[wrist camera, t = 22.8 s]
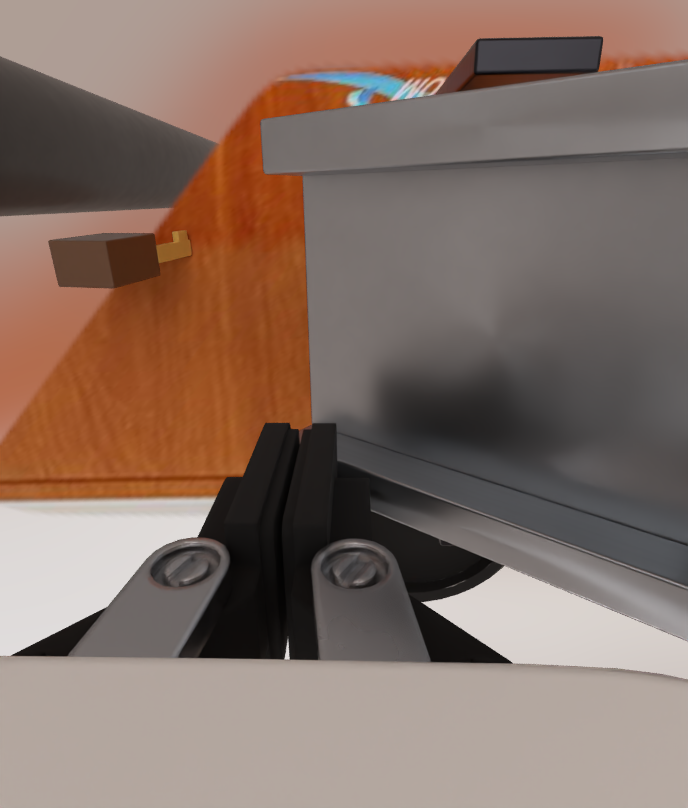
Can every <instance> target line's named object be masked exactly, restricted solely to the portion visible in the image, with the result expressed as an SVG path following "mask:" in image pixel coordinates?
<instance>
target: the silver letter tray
mask: <svg viewBox="0 0 688 808" xmlns="http://www.w3.org/2000/svg"><path fill="white" fill-rule="evenodd" d="M260 125H261V140H262V156H263V171H264V173H265V174H267V175H292V176H303V197H304V224H305V251H306V278H307V305H308V331H309V358H310V385H311V412H312V424H313V423H336V426H337V478H369V482H370V504H371V511H373V512H375V513H378V514H380V515H383V516H385V517H388V518H390V519H392V520H395V521H397V522H400V523H402V524H405V525H407V526H409V527H412V528H414V529H417V530H419V531H421V532H424V533H426V534H429V535H431V536H434V537H436V538H438V539H441V540H443V541H446V542H448V543H451V544H453V545H455V546H458V547H460V548H463V549H465V550H467V551H470V552H472V553H475V554H477V555H480V556H482V557H484V558H487V559H489V560H492V561H494V562H497V563H499V564H501V565H504V566H506V567H509V568H511V569H514V570H516V571H518V572H521V573H523V574H526V575H528V576H531V577H533V578H535V579H538V580H540V581H543V582H545V583H548V584H550V585H552V586H555V587H557V588H560V589H562V590H565V591H567V592H569V593H572V594H574V595H576V596H579V597H581V598H584V599H586V600H589V601H591V602H593V603H596V604H598V605H601V606H603V607H606V608H608V609H610V610H613V611H615V612H618V613H620V614H622V615H625V616H627V617H630V618H632V619H635V620H637V621H640V622H642V623H644V624H647V625H649V626H652V627H654V628H656V629H659V630H661V631H664V632H666V633H668V634H671V635H673V636H676V637H678V638H681V639H683V640H686V641H688V60H681V61H674V62H667V63H659V64H652V65H645V66H638V67H631V68H624V69H617V70H610V71H602V72H595V73H588V74H581V75H574V76H567V77H560V78H553V79H545V80H538V81H531V82H524V83H517V84H510V85H503V86H496V87H488V88H481V89H474V90H467V91H460V92H453V93H446V94H439V95H431V96H424V97H417V98H410V99H403V100H396V101H389V102H382V103H374V104H367V105H360V106H353V107H346V108H339V109H332V110H325V111H317V112H310V113H303V114H296V115H289V116H282V117H275V118H267V119H263V120H261V122H260ZM304 429H312V425H310V426H308V427H306V428H304ZM302 433H303V429H302V430H300V431H299V438H300V442H301V437H302Z"/></svg>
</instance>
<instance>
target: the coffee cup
mask: <svg viewBox="0 0 688 808" xmlns="http://www.w3.org/2000/svg"><path fill="white" fill-rule="evenodd" d="M371 526H372V541H374V542H376V543H378V544H380V545H382V546H384V547H385V548H387V549H388V550H389V551H390V552H392V554H393V555H394V557H395V559H396V560H397V563H398V566H399V569H400V572H401V575H402V578H403V581H404V583H405V586H406V589H407V592H408V594H409V595H411V596H412V597H414V598H415V599H417V600H418V601H420V602H426V601H432V600H438V599H443V598H447V597H450V596H453V595H457V594H459V593H462V592H464V591H466V590H469V589H471V588H474V587H475V586H477V585H479V584H480V583H482V582H484V581H485V580H487V579H489V578H490V577H492V576H493V575H494V574H495V573H497V572H498V571H499V570H500V569H502V568H503V567H504V565H501V564H499V563H497V562H494V561H492V560H489V559H487V558H484V557H482V556H480V555H477V554H475V553H472V552H470V551H467V550H465V549H463V548H460V547H458V546H442V545H440V542H439V539H438V538H436V537H434V536H431V535H429V534H426V533H424V532H421V531H419V530H417V529H414V528H412V527H409V526H407V525H405V524H402V523H400V522H397V521H395V520H392V519H390V518H388V517H385V516H383V515H380V514H378V513H375V512H373V511H371Z"/></svg>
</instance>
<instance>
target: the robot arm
mask: <svg viewBox="0 0 688 808" xmlns="http://www.w3.org/2000/svg"><path fill="white" fill-rule="evenodd" d="M287 640H288V641H289V656H290V660H284V658H285V653H286V646H287ZM0 808H688V680H687V679H683V678H678V677H673V676H668V675H663V674H657V673H649V672H641V671H633V670H625V669H616V668H596V667H578V666H558V665H539V664H537V665H536V664H513V663H512V662H511V661H509V660H508V659H506V658H505V657H503V656H502V655H500V654H499V653H497V652H496V651H494V650H493V649H491V648H489V647H488V646H486V645H485V644H483V643H482V642H480V641H479V640H477V639H476V638H474V637H473V636H471V635H470V634H468V633H467V632H465V631H464V630H462V629H461V628H459V627H458V626H456V625H454V624H453V623H451V622H450V621H449V620H447V619H446V618H444V617H443V616H441V615H440V614H438V613H436V612H435V611H433V610H432V609H430V608H429V607H427V606H426V605H424V604H423V603H421V602H420V601H418V600H417V599H415V598H414V597H412V596H411V595H409V594H408V592H407V589H406V586H405V583H404V581H403V578H402V575H401V572H400V569H399V566H398V563H397V560H396V559H395V557H394V555H393V554H392V552H390V551H389V550H388V549H387V548H385V547H384V546H382V545H380V544H378V543H376V542H374V541H372V526H371V504H370V482H369V478H337V426H336V423H313V424H312V429H303V433H302V437H301V442H300V438H299V430H298V429H291V427H290V423H265V425H264V427H263V430H262V432H261V434H260V437H259V439H258V442H257V444H256V446H255V449H254V451H253V454H252V456H251V458H250V461H249V463H248V466H247V468H246V471H245V473H244V475H243V477H227V478H226V479H225V481H224V483H223V485H222V487H221V489H220V491H219V493H218V495H217V497H216V500H215V502H214V504H213V506H212V508H211V510H210V512H209V514H208V516H207V518H206V521H205V523H204V525H203V527H202V529H201V531H200V533H199V535H198V537H197V538H187V539H181V540H177V541H175V542H172V543H169V544H166V545H165V546H163V547H161V548H160V549H158V550H156V551H155V552H154V553H153V554H152V555H151V556H149V557H148V558H147V559H146V561H145V562H144V563H143V564H142V565H141V567H140V568H139V569H138V570H137V572H136V573H135V574H134V575H133V576H132V578H131V579H130V580H129V581H128V583H127V584H126V585H125V586H124V587H123V589H122V590H121V591H120V592H119V594H118V595H117V596H116V597H115V598H114V600H113V601H112V602H111V603H110V604H109V606H108V607H106V608H104V609H102V610H100V611H98V612H96V613H94V614H92V615H90V616H88V617H86V618H84V619H82V620H80V621H79V622H76V623H75V624H72V625H71V626H69V627H67V628H65V629H63V630H61V631H59V632H57V633H55V634H53V635H51V636H49V637H47V638H45V639H43V640H41V641H39V642H37V643H35V644H33V645H31V646H29V647H27V648H25V649H23V650H21V651H19V652H17V653H15V654H13V655H11V656H0Z"/></svg>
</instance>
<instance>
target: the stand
mask: <svg viewBox="0 0 688 808" xmlns="http://www.w3.org/2000/svg"><path fill="white" fill-rule="evenodd" d="M602 45H603V37H600V36H590V37H589V36H587V37H540V38H539V37H537V38H536V37H535V38H485V39H478V40H477V41H476V42H475V43H474V44H473V46H472V47H471V48H470V50H469V51H468V52H467V54H466V55H465V56H464V58H463V59H462V60H461V61H460V63H459V64H458V65H457V67H456V68H455V69H454V71H453V72H452V73H451V75H450V76H449V77H448V79H447V80H446V81H445V83H444V84H443V85H442V86H441V88H440V89H439V90H438V92H437V93H436V94H435V95H439V94H446V93H453V92H460V91H467V90H474V89H481V88H488V87H496V86H503V85H510V84H517V83H524V82H531V81H538V80H545V79H553V78H560V77H567V76H574V75H581V74H588V73H595V72H598V70H599V65H600V58H601V52H602ZM439 542H440V545H442V546H455V545H453V544H451V543H448V542H446V541H443V540H441V539H439Z"/></svg>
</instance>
